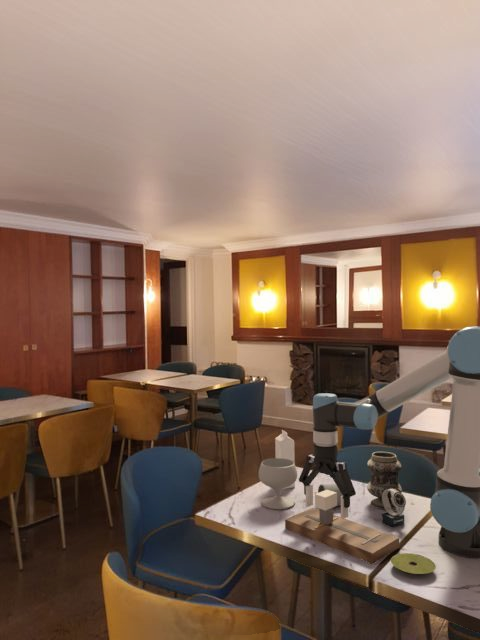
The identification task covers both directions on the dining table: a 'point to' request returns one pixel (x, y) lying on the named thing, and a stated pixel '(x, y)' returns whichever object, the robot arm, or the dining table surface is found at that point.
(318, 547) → the dining table surface
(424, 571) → the mat
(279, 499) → the chalice
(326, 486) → the ceramic mug
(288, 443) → the milk
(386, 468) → the apothecary jar
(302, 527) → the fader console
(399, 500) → the watch
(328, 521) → the fader knob
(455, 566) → the dining table surface
